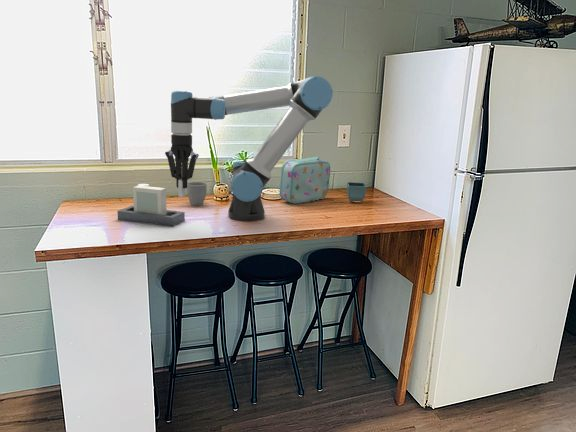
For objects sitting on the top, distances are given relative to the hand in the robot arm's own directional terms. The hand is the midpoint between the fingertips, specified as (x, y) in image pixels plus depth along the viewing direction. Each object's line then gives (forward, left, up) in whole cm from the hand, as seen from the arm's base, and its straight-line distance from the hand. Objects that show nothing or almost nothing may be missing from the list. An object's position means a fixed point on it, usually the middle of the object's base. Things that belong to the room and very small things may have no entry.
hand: (181, 196), depth 179 cm
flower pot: (-57, -69, -11) cm, 90 cm away
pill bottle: (+25, -12, -11) cm, 30 cm away
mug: (+11, -32, -11) cm, 36 cm away
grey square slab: (+14, 0, -10) cm, 17 cm away
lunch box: (-33, -60, -11) cm, 70 cm away
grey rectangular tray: (+14, 0, -11) cm, 18 cm away
